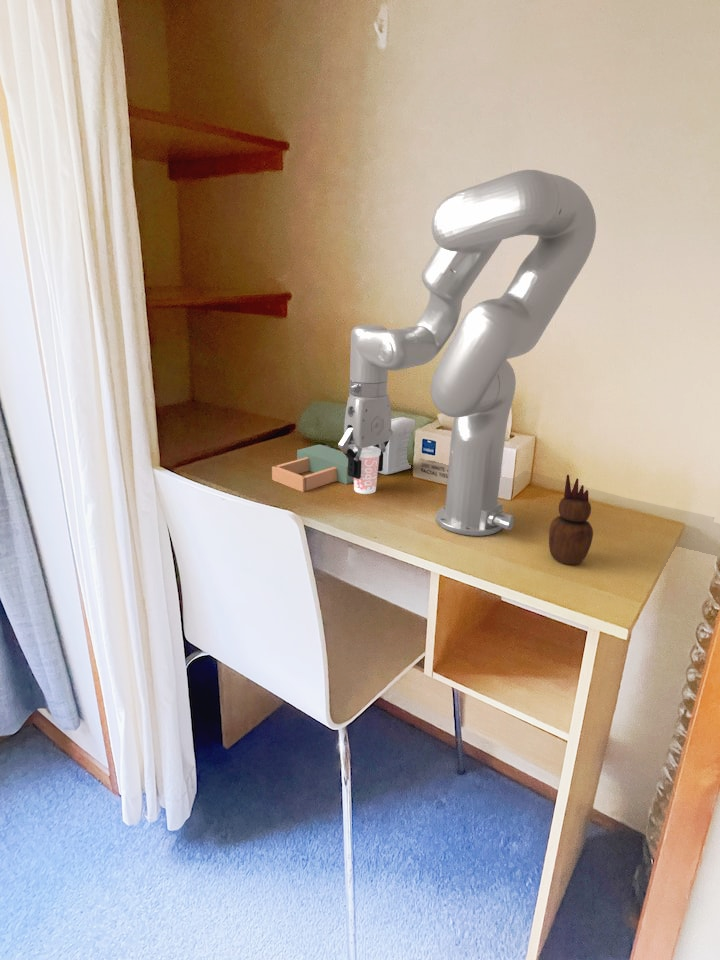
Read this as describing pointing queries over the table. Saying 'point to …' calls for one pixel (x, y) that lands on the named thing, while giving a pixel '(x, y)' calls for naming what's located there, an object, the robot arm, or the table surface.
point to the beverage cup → (368, 470)
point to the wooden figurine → (571, 527)
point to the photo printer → (397, 446)
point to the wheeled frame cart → (313, 468)
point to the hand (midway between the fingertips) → (365, 472)
